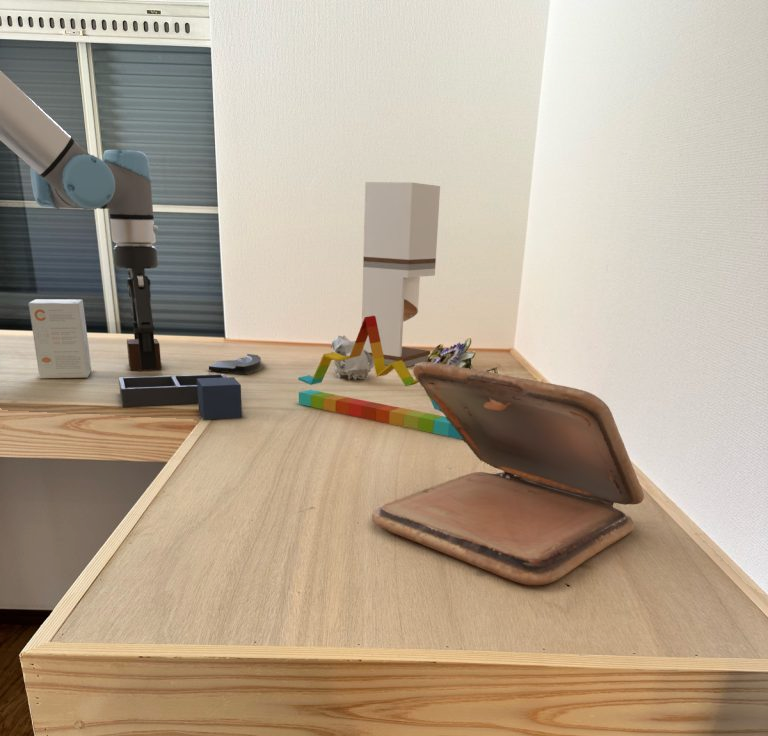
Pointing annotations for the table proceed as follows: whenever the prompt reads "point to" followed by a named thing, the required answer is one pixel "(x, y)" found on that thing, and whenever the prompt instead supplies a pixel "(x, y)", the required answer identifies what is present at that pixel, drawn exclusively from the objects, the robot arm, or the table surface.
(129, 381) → the holder
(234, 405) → the pad
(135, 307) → the robot arm
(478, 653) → the table surface
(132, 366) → the brown rectangular block
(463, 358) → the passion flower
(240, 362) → the curved wedge
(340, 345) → the crumpled paper
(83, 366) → the small box
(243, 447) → the table surface
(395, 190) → the notched striped pillar
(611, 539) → the case
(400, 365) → the multicoloured zigzag triangular frame
